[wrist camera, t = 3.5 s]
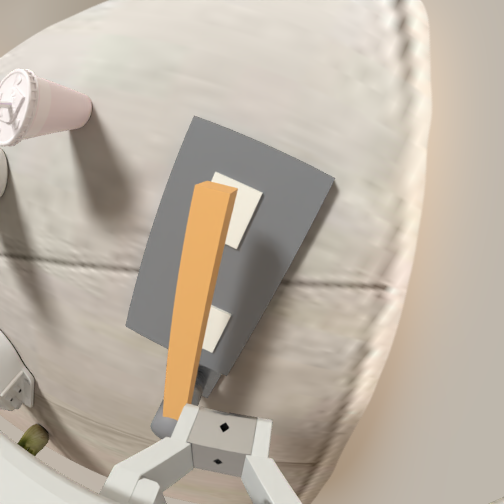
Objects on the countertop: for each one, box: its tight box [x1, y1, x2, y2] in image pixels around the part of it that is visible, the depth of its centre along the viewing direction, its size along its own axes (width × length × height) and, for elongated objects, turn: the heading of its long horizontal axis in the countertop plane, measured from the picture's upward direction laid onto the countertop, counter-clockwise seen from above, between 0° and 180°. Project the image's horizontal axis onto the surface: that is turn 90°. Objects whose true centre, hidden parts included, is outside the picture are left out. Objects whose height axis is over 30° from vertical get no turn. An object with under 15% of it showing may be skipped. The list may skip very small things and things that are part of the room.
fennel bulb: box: [17, 424, 49, 456], centre depth 42 cm, size 6×5×12 cm
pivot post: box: [191, 364, 221, 406], centre depth 28 cm, size 5×5×6 cm
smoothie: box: [0, 69, 92, 146], centre depth 16 cm, size 6×6×14 cm
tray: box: [126, 116, 335, 376], centre depth 25 cm, size 22×12×2 cm, turn 156°
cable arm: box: [151, 181, 238, 439], centre depth 20 cm, size 24×4×3 cm, turn 166°
